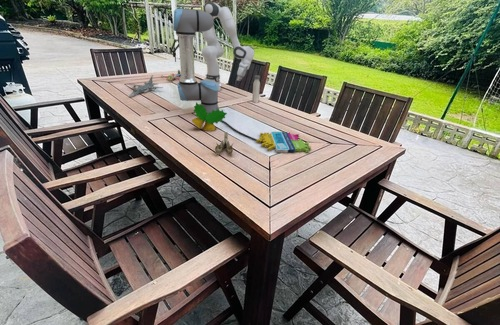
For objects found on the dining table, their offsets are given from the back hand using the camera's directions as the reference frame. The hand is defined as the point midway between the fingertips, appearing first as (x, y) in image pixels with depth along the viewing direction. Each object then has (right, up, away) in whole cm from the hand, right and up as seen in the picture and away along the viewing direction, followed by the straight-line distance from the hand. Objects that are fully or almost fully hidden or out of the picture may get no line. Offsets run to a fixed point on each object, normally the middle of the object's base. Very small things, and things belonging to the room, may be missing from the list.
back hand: (238, 80), depth 236 cm
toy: (-70, +16, +44) cm, 84 cm away
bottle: (+15, -22, -12) cm, 29 cm away
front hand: (-43, +7, -25) cm, 50 cm away
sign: (+29, -63, -84) cm, 109 cm away
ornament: (-15, -53, -72) cm, 90 cm away
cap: (+16, -4, -23) cm, 28 cm away
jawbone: (-3, -68, -98) cm, 119 cm away
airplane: (-82, -12, -7) cm, 84 cm away
